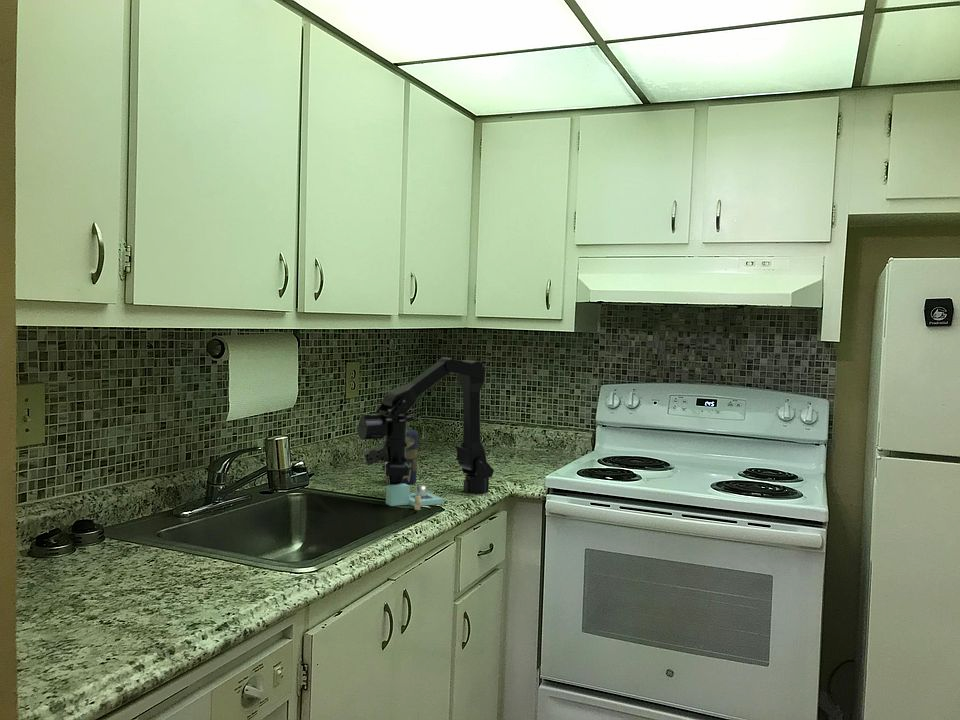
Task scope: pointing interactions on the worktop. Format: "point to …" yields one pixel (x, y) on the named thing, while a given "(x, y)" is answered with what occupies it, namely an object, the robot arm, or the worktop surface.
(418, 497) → the dowel
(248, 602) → the worktop surface
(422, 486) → the post
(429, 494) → the flange
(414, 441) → the canister
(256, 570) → the worktop surface
